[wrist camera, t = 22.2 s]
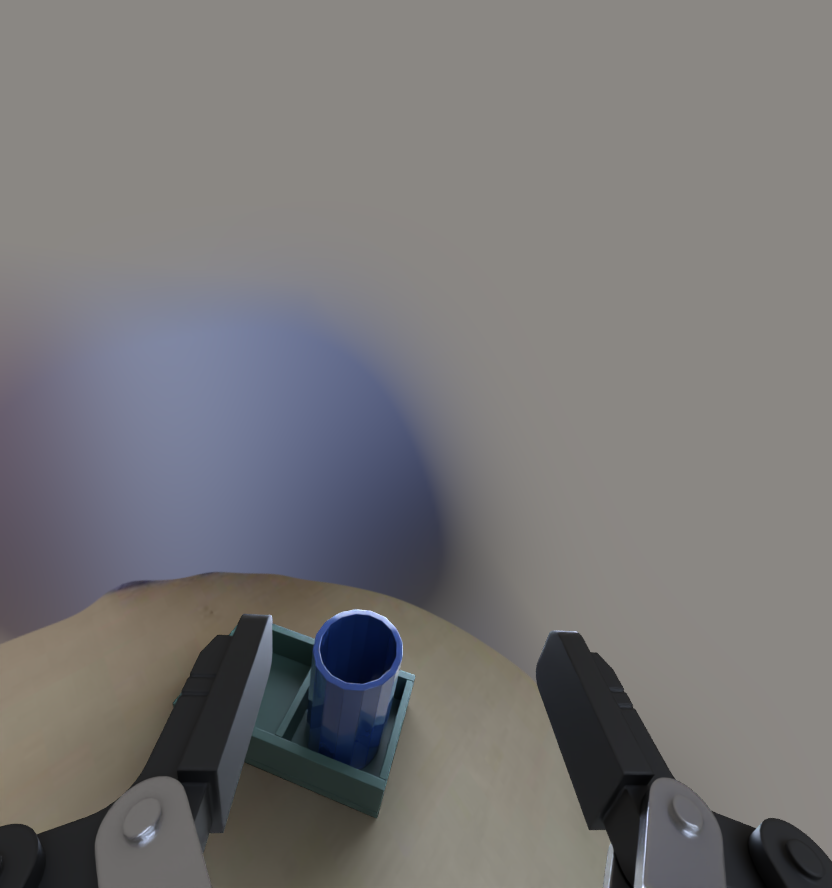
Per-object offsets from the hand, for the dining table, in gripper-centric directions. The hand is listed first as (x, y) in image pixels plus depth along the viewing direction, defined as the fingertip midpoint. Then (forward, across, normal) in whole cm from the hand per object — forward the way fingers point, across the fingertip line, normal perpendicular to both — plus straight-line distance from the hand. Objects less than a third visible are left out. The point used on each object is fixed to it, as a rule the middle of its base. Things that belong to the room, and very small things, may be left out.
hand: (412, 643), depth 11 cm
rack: (+13, +5, +25) cm, 29 cm away
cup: (+12, +1, +24) cm, 27 cm away
